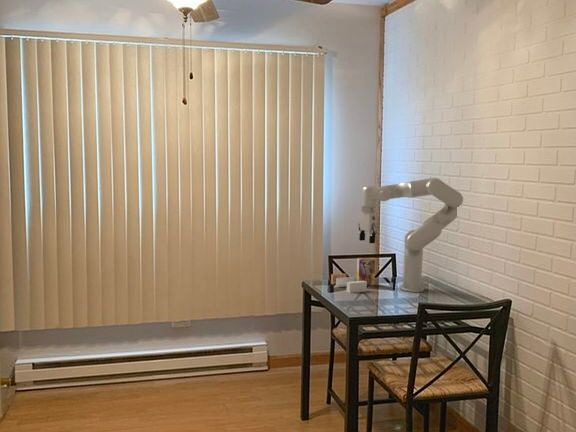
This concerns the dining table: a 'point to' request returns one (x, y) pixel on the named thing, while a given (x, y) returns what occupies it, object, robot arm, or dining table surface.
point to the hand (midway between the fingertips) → (367, 241)
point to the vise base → (356, 286)
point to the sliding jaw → (341, 280)
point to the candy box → (366, 270)
